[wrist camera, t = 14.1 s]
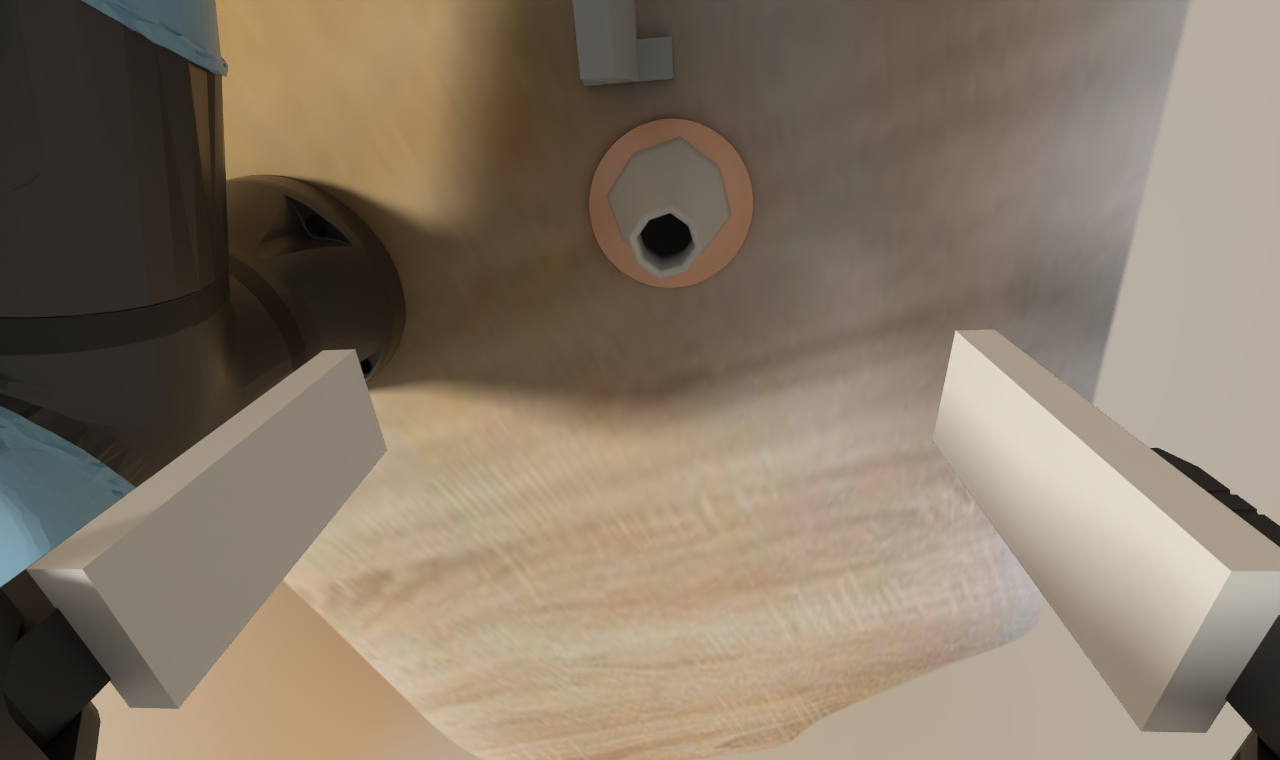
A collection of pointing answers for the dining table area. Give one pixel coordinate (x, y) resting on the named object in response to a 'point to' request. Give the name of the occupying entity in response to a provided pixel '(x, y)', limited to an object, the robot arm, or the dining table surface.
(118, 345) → the robot arm
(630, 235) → the flask
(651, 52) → the screen
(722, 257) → the coaster
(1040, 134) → the dining table surface
